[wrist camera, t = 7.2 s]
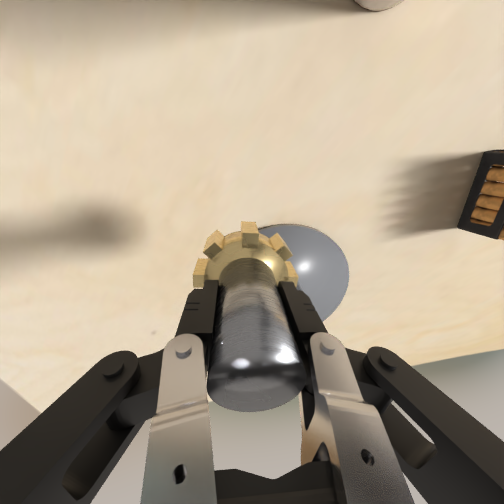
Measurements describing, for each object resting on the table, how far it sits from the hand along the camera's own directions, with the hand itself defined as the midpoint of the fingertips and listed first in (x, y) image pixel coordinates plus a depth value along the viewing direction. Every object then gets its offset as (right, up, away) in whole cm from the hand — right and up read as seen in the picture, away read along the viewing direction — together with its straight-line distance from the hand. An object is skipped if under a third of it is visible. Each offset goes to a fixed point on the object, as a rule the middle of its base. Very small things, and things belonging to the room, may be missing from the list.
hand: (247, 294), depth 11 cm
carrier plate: (+5, -3, +22) cm, 23 cm away
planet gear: (0, +1, +3) cm, 3 cm away
